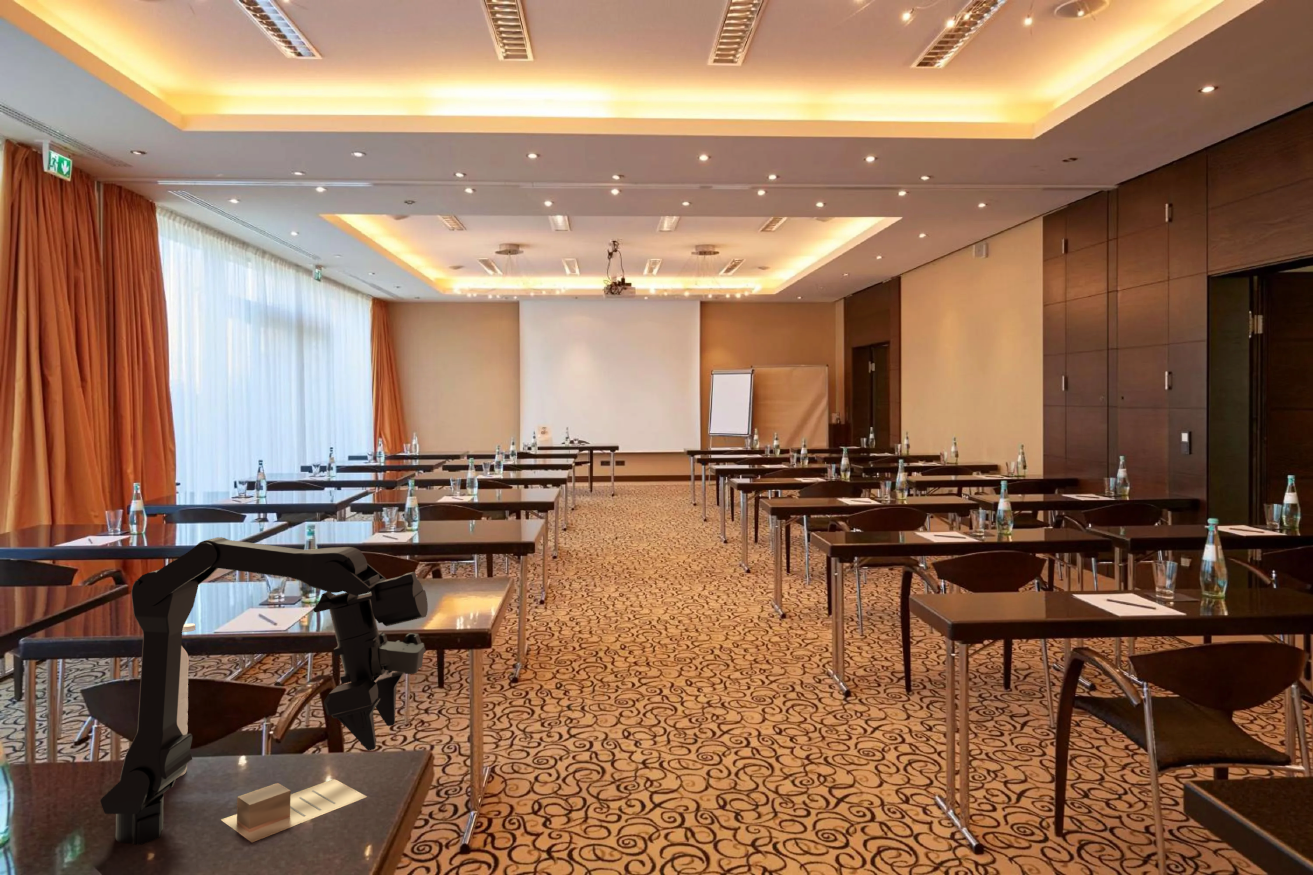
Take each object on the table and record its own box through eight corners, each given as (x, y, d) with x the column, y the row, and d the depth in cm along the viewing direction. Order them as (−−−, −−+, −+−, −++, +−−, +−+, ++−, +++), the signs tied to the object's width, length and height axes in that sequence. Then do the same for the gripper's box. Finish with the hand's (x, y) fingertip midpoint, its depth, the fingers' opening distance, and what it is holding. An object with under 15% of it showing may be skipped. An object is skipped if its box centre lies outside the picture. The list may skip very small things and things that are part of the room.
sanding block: (236, 823, 115) (237, 796, 115) (277, 808, 119) (277, 782, 119) (249, 832, 112) (249, 804, 112) (290, 816, 117) (290, 790, 117)
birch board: (220, 829, 116) (220, 819, 116) (333, 787, 130) (334, 778, 130) (251, 852, 110) (251, 841, 110) (367, 805, 124) (367, 796, 124)
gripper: (393, 636, 104) (419, 748, 104) (427, 606, 123) (450, 701, 123) (310, 656, 103) (337, 769, 104) (358, 623, 122) (380, 718, 122)
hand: (382, 736), depth 113 cm, fingers open, 9 cm apart
